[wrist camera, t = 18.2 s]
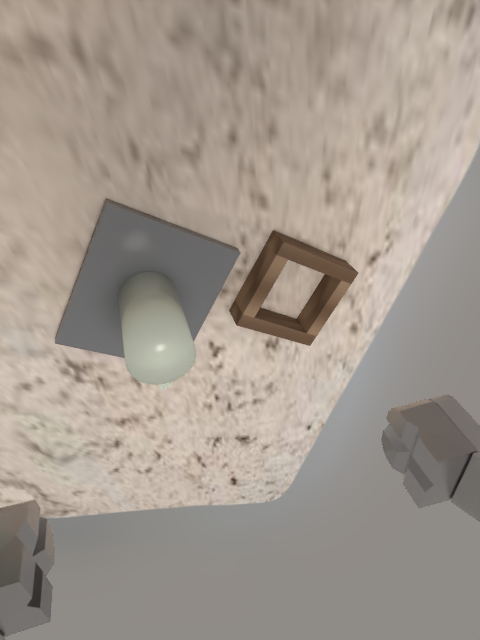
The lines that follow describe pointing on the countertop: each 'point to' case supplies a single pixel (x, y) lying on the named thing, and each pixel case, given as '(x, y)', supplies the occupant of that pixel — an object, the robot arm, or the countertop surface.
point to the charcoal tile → (135, 257)
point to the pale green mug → (154, 330)
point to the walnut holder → (267, 273)
